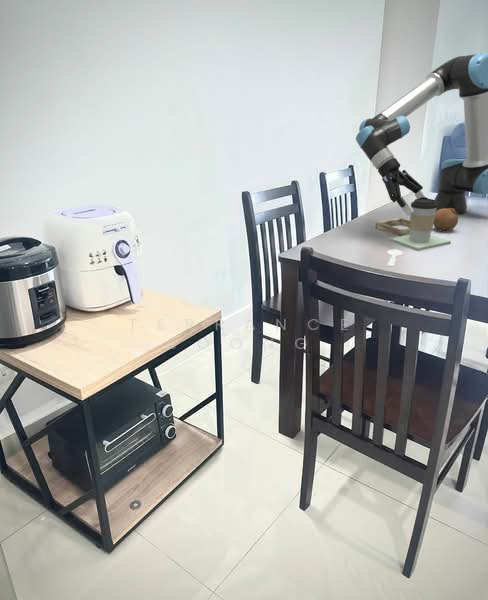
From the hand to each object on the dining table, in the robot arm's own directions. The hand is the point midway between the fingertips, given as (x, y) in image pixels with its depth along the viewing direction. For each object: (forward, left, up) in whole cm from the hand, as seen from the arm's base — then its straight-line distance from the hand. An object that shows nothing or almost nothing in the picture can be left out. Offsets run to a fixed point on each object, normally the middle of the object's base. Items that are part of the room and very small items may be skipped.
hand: (419, 209), depth 159 cm
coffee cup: (-1, +1, -11) cm, 11 cm away
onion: (-21, -6, -12) cm, 25 cm away
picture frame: (-7, -15, -12) cm, 20 cm away
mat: (-1, +1, -12) cm, 12 cm away
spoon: (+19, +9, -12) cm, 25 cm away
